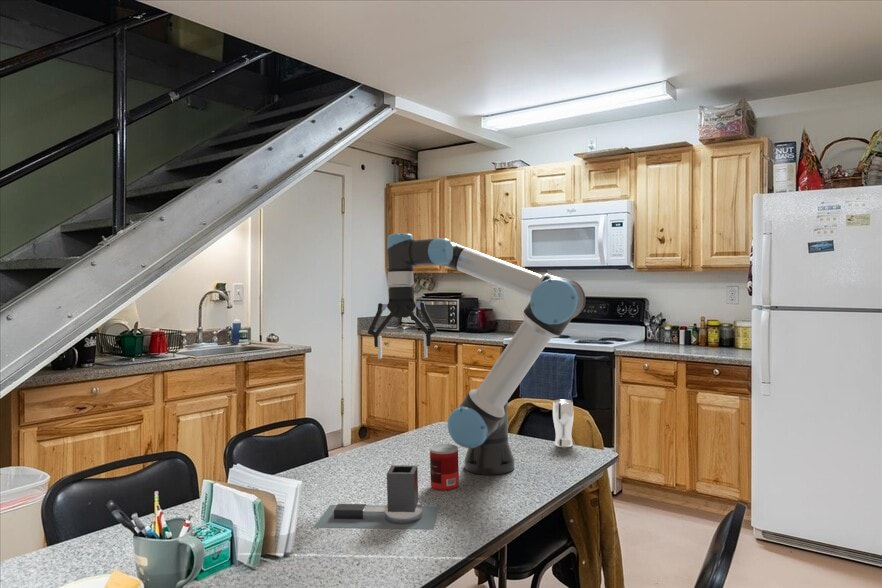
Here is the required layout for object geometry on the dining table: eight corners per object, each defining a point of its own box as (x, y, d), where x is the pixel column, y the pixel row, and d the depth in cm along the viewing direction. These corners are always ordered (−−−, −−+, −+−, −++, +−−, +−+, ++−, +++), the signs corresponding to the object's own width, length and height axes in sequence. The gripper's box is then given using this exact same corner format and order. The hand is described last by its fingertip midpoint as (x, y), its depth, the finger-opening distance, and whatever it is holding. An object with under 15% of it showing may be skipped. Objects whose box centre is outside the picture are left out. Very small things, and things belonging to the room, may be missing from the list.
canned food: (462, 483, 166) (461, 444, 166) (453, 493, 158) (452, 452, 158) (436, 481, 168) (435, 442, 168) (426, 490, 161) (425, 450, 161)
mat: (439, 507, 148) (439, 506, 148) (433, 531, 134) (433, 529, 134) (330, 506, 151) (330, 504, 151) (313, 529, 137) (313, 527, 137)
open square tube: (418, 502, 145) (417, 465, 145) (414, 512, 139) (413, 473, 138) (392, 501, 146) (391, 465, 145) (387, 511, 139) (386, 473, 139)
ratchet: (424, 509, 146) (423, 487, 146) (419, 524, 137) (419, 500, 137) (339, 508, 148) (338, 486, 148) (328, 523, 139) (328, 499, 139)
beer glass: (576, 447, 199) (575, 403, 199) (555, 448, 199) (554, 403, 199) (571, 442, 206) (571, 399, 206) (551, 442, 206) (550, 399, 206)
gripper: (443, 285, 178) (445, 355, 179) (361, 287, 180) (363, 356, 180) (442, 285, 171) (444, 358, 171) (356, 287, 172) (358, 360, 173)
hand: (402, 357), depth 176 cm, fingers open, 13 cm apart
